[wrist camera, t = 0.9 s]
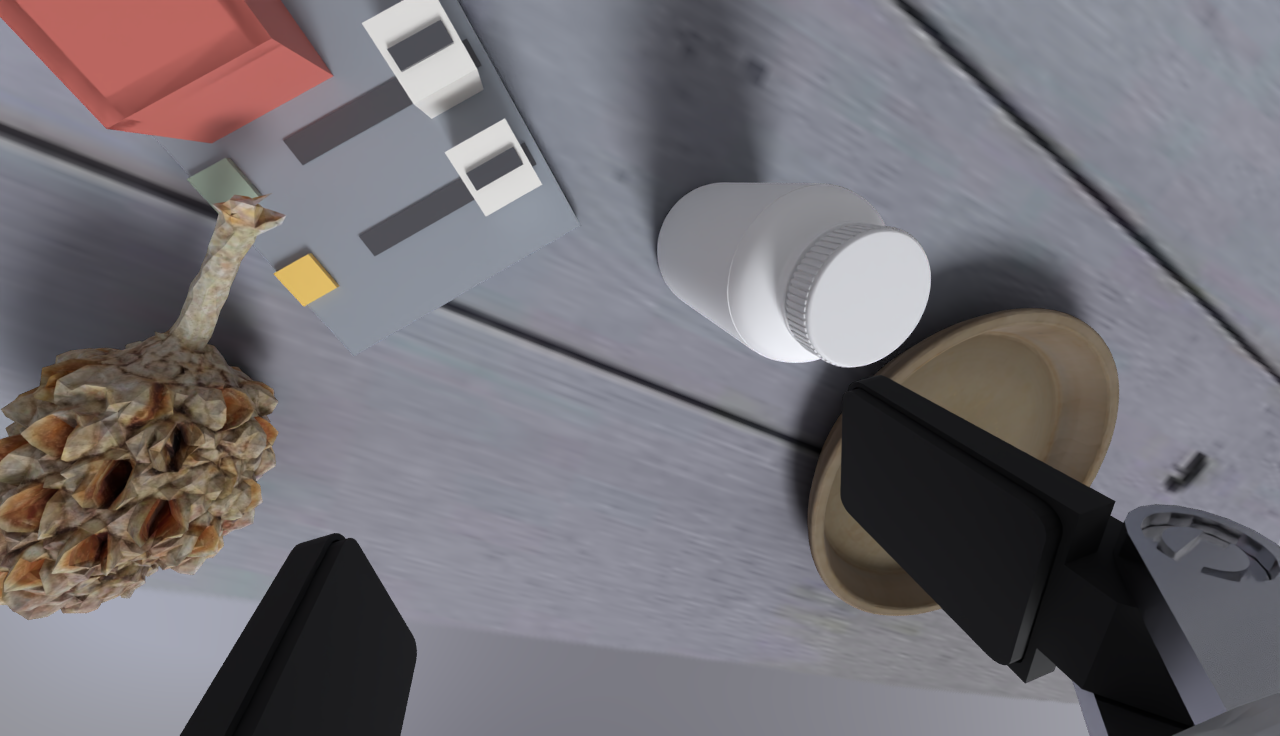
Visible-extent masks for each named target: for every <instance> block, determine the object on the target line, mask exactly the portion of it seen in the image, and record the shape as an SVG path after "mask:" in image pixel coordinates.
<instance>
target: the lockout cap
mask: <svg viewBox="0 0 1280 736" xmlns="http://www.w3.org/2000/svg"><path fill="white" fill-rule="evenodd" d="M0 17H1V18H2V19H3V20H4V21H5V22H6V24H7V25H8V26H9V27H10V28H11V29H12V30H13V31H14V32H15V33H16V34H17V35H18V36H19V37H20V38H21V39H22V40H23V41H24V42H25V44H26V45H27V46H28V47H29V48H30V49H31V50H32V51H33V52H34V53H35V54H36V55H37V56H38V57H39V58H40V59H41V60H42V61H43V62H44V64H45V65H46V66H47V67H48V68H49V69H50V70H51V71H52V72H53V73H54V74H55V75H56V76H57V77H58V78H59V79H60V80H61V81H62V82H63V83H64V85H65V86H66V87H67V88H68V89H69V90H70V91H71V92H72V93H73V94H74V95H75V96H76V97H77V98H78V99H79V100H80V101H81V102H82V103H83V105H84V106H85V107H86V108H87V109H88V110H89V111H90V112H91V113H92V114H93V115H94V116H95V117H96V118H97V119H98V120H99V121H100V122H101V123H102V125H103V126H104V127H105V128H106V129H112V130H119V131H126V132H133V133H140V134H148V135H155V136H162V137H169V138H176V139H183V140H191V141H198V142H205V143H213V142H215V141H217V140H219V139H221V138H223V137H224V136H226V135H228V134H230V133H232V132H233V131H235V130H237V129H239V128H241V127H242V126H244V125H246V124H248V123H250V122H252V121H253V120H255V119H257V118H259V117H261V116H262V115H264V114H266V113H268V112H270V111H271V110H273V109H275V108H277V107H279V106H280V105H282V104H284V103H286V102H288V101H290V100H291V99H293V98H295V97H297V96H299V95H300V94H302V93H304V92H306V91H308V90H309V89H311V88H313V87H315V86H317V85H318V84H320V83H322V82H324V81H326V80H328V79H329V78H331V77H333V74H332V73H331V72H330V70H329V69H328V67H327V66H326V64H325V63H324V61H323V60H322V59H321V57H320V56H319V54H318V53H317V51H316V50H315V49H314V47H313V46H312V44H311V43H310V41H309V40H308V39H307V37H306V36H305V34H304V33H303V31H302V30H301V29H300V27H299V26H298V24H297V23H296V21H295V20H294V18H293V17H292V16H291V14H290V13H289V11H288V10H287V8H286V7H285V6H284V4H283V3H282V1H281V0H0Z"/></svg>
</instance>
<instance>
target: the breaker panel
mask: <svg viewBox="0 0 1280 736" xmlns="http://www.w3.org/2000/svg"><path fill="white" fill-rule="evenodd" d="M281 1H282V3H283V4H284V6H285V7H286V8H287V10H288V11H289V13H290V14H291V16H292V17H293V18H294V20H295V21H296V23H297V24H298V26H299V27H300V29H301V30H302V31H303V33H304V34H305V36H306V37H307V39H308V40H309V41H310V43H311V44H312V46H313V47H314V49H315V50H316V51H317V53H318V54H319V56H320V57H321V59H322V60H323V61H324V63H325V64H326V66H327V67H328V69H329V70H330V72H331V73H332V74H333V77H331V78H329V79H328V80H326V81H324V82H322V83H320V84H318V85H317V86H315V87H313V88H311V89H309V90H308V91H306V92H304V93H302V94H300V95H299V96H297V97H295V98H293V99H291V100H290V101H288V102H286V103H284V104H282V105H280V106H279V107H277V108H275V109H273V110H271V111H270V112H268V113H266V114H264V115H262V116H261V117H259V118H257V119H255V120H253V121H252V122H250V123H248V124H246V125H244V126H242V127H241V128H239V129H237V130H235V131H233V132H232V133H230V134H228V135H226V136H224V137H223V138H221V139H219V140H217V141H215V142H213V143H205V142H198V141H191V140H183V139H176V138H169V137H162V136H155V135H152V136H153V137H154V138H155V139H156V140H157V141H158V142H159V143H160V145H161V146H162V147H163V148H164V149H165V150H166V151H167V152H168V153H169V154H170V156H171V157H172V158H173V159H174V160H175V161H176V162H177V163H178V164H179V165H180V167H181V168H182V169H183V170H184V171H185V172H186V173H187V174H188V175H189V176H190V178H188V179H187V180H188V181H189V182H190V183H191V184H192V186H193V187H194V188H195V189H196V190H197V191H198V192H199V193H200V194H201V195H202V196H203V198H204V199H205V200H206V201H207V202H208V203H209V204H210V205H211V206H212V207H213V208H214V210H215V211H216V212H217V213H218V214H219V212H218V211H217V210H216V209H215V207H214V206H213V205H212V204H215V203H221V202H226V201H228V200H230V199H231V198H232V197H233V196H234V195H241V196H248V197H250V198H255V197H259V196H263V195H266V194H270V193H272V194H270V195H269V196H268V197H266V198H265V199H263V200H262V201H261V202H259V203H258V204H259V205H261V206H262V207H263V208H266V209H269V210H272V211H276V212H278V213H281V214H284V215H286V217H285V219H284V221H283V223H282V224H281V225H279V226H277V227H275V228H273V229H270V230H268V231H266V232H264V233H262V234H260V235H257V237H256V240H255V242H254V244H253V246H254V248H255V249H256V250H257V251H258V252H259V253H260V254H261V255H262V256H263V257H264V259H265V260H266V261H267V262H268V263H269V264H270V265H271V266H272V267H273V268H274V269H275V271H276V273H274V275H275V276H276V277H277V278H278V279H279V280H280V281H281V282H282V284H283V285H284V286H285V287H286V288H287V289H288V290H289V291H290V292H291V293H292V294H293V296H294V297H295V298H296V299H297V300H298V301H299V302H300V303H301V304H302V305H303V306H306V305H307V306H308V307H309V308H310V309H311V310H312V311H313V312H314V313H315V314H316V315H317V317H318V318H319V319H320V320H321V321H322V322H323V323H324V324H325V325H326V326H327V328H328V329H329V330H330V331H331V332H332V333H333V334H334V335H335V336H336V337H337V338H338V340H339V341H340V342H341V343H342V344H343V345H344V346H345V347H346V348H347V349H348V351H349V352H350V353H351V354H352V355H353V356H356V355H357V354H359V353H361V352H362V351H364V350H366V349H368V348H369V347H371V346H373V345H375V344H376V343H378V342H380V341H382V340H383V339H385V338H387V337H388V336H390V335H392V334H394V333H395V332H397V331H399V330H401V329H402V328H404V327H406V326H408V325H409V324H411V323H413V322H414V321H416V320H418V319H420V318H421V317H423V316H425V315H427V314H428V313H430V312H432V311H434V310H435V309H437V308H439V307H440V306H442V305H444V304H446V303H447V302H449V301H451V300H453V299H454V298H456V297H458V296H460V295H461V294H463V293H465V292H466V291H468V290H470V289H472V288H473V287H475V286H477V285H479V284H480V283H482V282H484V281H486V280H487V279H489V278H491V277H492V276H494V275H496V274H498V273H499V272H501V271H503V270H505V269H506V268H508V267H510V266H512V265H513V264H515V263H517V262H518V261H520V260H522V259H524V258H525V257H527V256H529V255H531V254H532V253H534V252H536V251H538V250H539V249H541V248H543V247H545V246H546V245H548V244H550V243H551V242H553V241H555V240H557V239H558V238H560V237H562V236H564V235H565V234H567V233H569V232H571V231H572V230H574V229H576V228H577V227H579V226H581V225H580V223H579V221H578V220H577V218H576V216H575V214H574V212H573V210H572V209H571V207H570V205H569V203H568V201H567V200H566V198H565V196H564V194H563V192H562V190H561V189H560V187H559V185H558V183H557V181H556V179H555V178H554V176H553V174H552V172H551V170H550V168H549V167H548V165H547V163H546V161H545V159H544V157H543V156H542V154H541V152H540V150H539V148H538V146H537V145H536V143H535V141H534V139H533V137H532V136H531V134H530V132H529V130H528V128H527V126H526V125H525V123H524V121H523V119H522V117H521V115H520V114H519V112H518V110H517V108H516V106H515V104H514V103H513V101H512V99H511V97H510V95H509V93H508V92H507V90H506V88H505V86H504V84H503V83H502V81H501V79H500V77H499V75H498V73H497V72H496V70H495V68H494V66H493V64H492V62H491V61H490V59H489V57H488V55H487V53H486V51H485V50H484V48H483V46H482V44H481V42H480V40H479V39H478V37H477V35H476V33H475V31H474V30H473V28H472V26H471V24H470V22H469V20H468V19H467V17H466V15H465V13H464V11H463V9H462V8H461V6H460V4H459V2H458V0H281ZM504 118H505V119H506V121H507V123H508V125H509V126H510V128H511V130H512V132H513V133H514V135H515V137H516V139H517V141H518V142H519V144H520V146H521V148H522V149H523V151H524V153H525V155H526V156H527V158H528V160H529V162H530V164H531V165H532V167H533V169H534V171H535V172H536V174H537V176H538V178H539V180H540V181H541V183H542V185H541V186H539V187H537V188H535V189H534V190H532V191H530V192H528V193H527V194H525V195H523V196H521V197H520V198H518V199H516V200H514V201H513V202H511V203H509V204H507V205H506V206H504V207H502V208H500V209H499V210H497V211H495V212H493V213H492V214H490V215H488V216H485V215H484V213H483V212H482V210H481V208H480V207H479V205H478V204H477V202H476V201H475V199H474V198H473V196H472V194H471V193H470V191H469V190H468V188H467V187H466V185H465V183H464V182H463V180H462V179H461V177H460V176H459V174H458V173H457V171H456V169H455V168H454V166H453V165H452V163H451V162H450V160H449V159H448V157H447V155H446V154H445V152H446V151H448V150H450V149H451V148H453V147H455V146H457V145H458V144H460V143H462V142H464V141H465V140H467V139H469V138H471V137H473V136H474V135H476V134H478V133H480V132H481V131H483V130H485V129H487V128H489V127H490V126H492V125H494V124H496V123H497V122H499V121H501V120H503V119H504Z"/></svg>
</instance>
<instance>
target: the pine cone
mask: <svg viewBox="0 0 1280 736" xmlns="http://www.w3.org/2000/svg"><path fill="white" fill-rule="evenodd" d="M270 194H272V193H270ZM270 194H266V195H263V196H259V197H255V198H250V197H248V196H241V195H234V196H233V197H232V198H231V199H230V200H228V201H226V202H221V203H215V204H212V205H213V206H214V207H215V209H216V210H217V211H218V212H219V215H218V219H217V222H216V226H215V230H214V233H213V236H212V238H211V241H210V243H209V246H208V250H207V254H206V256H205V258H204V261H203V263H202V265H201V268H200V271H199V273H198V274H197V276H196V277H195V278H194V280H193V281H192V282H191V284H190V288H189V291H188V295H187V298H186V300H185V303H184V305H183V307H182V310H181V313H180V316H179V318H178V319H177V320H176V322H175V323H174V325H173V326H172V327H171V329H170V330H168V331H166V332H165V333H159V332H155V336H152V337H150V338H148V339H146V340H145V341H143V342H142V341H137V342H134V343H130V344H127V345H126V349H125V350H119V349H112V348H98V349H92V348H88V349H79V350H70V351H68V352H65V353H63V354H60V355H57V356H56V362H55V364H53V365H50V366H47V367H43V368H42V373H41V381H40V386H39V387H37V388H34V389H32V390H30V391H27V392H25V393H22V394H20V395H19V396H18V397H17V398H16V399H15V400H14V401H13V402H11V403H10V404H8V405H7V406H5V407H4V408H2V409H1V410H2V412H3V413H4V415H5V416H6V417H8V418H9V419H11V420H13V421H14V423H13V424H11V425H9V426H8V427H6V431H7V433H8V435H9V437H6V438H3V439H1V440H0V605H8V606H9V608H10V609H11V610H12V611H13V612H16V613H18V614H19V615H21V616H23V617H24V618H26V619H27V620H31V619H36V618H43V617H48V616H49V615H51V614H53V613H54V612H56V611H58V610H59V609H61V610H62V612H63V613H87V612H91V611H93V610H96V609H98V608H99V606H100V605H101V603H103V602H105V601H108V600H111V599H114V598H116V597H118V596H120V595H121V597H122V598H130V597H131V595H132V594H133V592H134V590H135V589H136V588H138V587H140V586H141V585H143V584H145V576H147V577H148V576H150V575H151V574H153V573H155V572H157V571H158V566H160V567H161V568H162V570H165V569H169V568H171V569H173V570H175V571H176V572H178V573H183V574H190V575H194V574H195V573H196V572H197V570H198V569H199V568H200V567H201V565H202V564H203V563H204V561H205V560H206V559H207V558H213V557H214V556H215V555H216V554H217V553H218V552H219V551H220V550H221V548H222V547H223V546H224V543H223V536H225V535H227V534H228V533H230V532H231V531H233V530H235V529H241V528H243V527H246V526H248V525H251V524H253V520H254V513H255V509H254V508H255V507H257V506H258V505H259V504H261V503H262V502H263V501H262V497H261V488H260V485H259V484H257V480H258V479H260V478H261V477H262V476H263V474H264V473H265V472H267V471H268V470H270V469H271V468H273V467H274V466H276V461H275V454H274V451H273V449H272V447H271V446H272V445H273V443H274V441H275V439H276V437H277V434H278V431H277V430H276V429H275V428H274V427H273V426H272V425H271V424H270V420H269V419H268V417H267V416H266V415H268V414H271V413H272V412H273V410H274V408H275V406H276V405H277V403H278V401H277V399H276V398H275V397H274V390H273V389H272V388H270V387H269V386H267V385H266V384H264V383H263V382H259V381H253V380H252V379H250V377H249V376H247V375H246V374H245V373H243V372H242V371H241V370H240V368H239V367H233V366H229V365H228V364H227V363H226V361H225V359H224V357H223V356H222V355H221V354H220V352H219V351H218V350H217V348H216V347H215V346H213V345H210V344H207V343H208V341H209V340H210V338H211V337H212V334H213V332H214V329H215V326H216V323H217V320H218V317H219V314H220V311H221V308H222V307H223V305H224V303H225V301H226V299H227V298H228V295H229V291H230V287H231V285H232V283H233V280H234V278H235V276H236V274H237V272H238V269H239V266H240V263H241V260H242V259H243V257H244V256H245V254H246V253H247V252H248V250H249V249H250V248H251V246H252V245H253V244H254V242H255V240H256V237H257V235H260V234H262V233H264V232H266V231H268V230H270V229H273V228H275V227H277V226H279V225H281V224H282V223H283V221H284V219H285V217H286V215H284V214H281V213H278V212H276V211H272V210H269V209H266V208H263V207H262V206H261V205H259V204H258V203H259V202H261V201H262V200H263V199H265V198H266V197H268V196H269V195H270Z"/></svg>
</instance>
